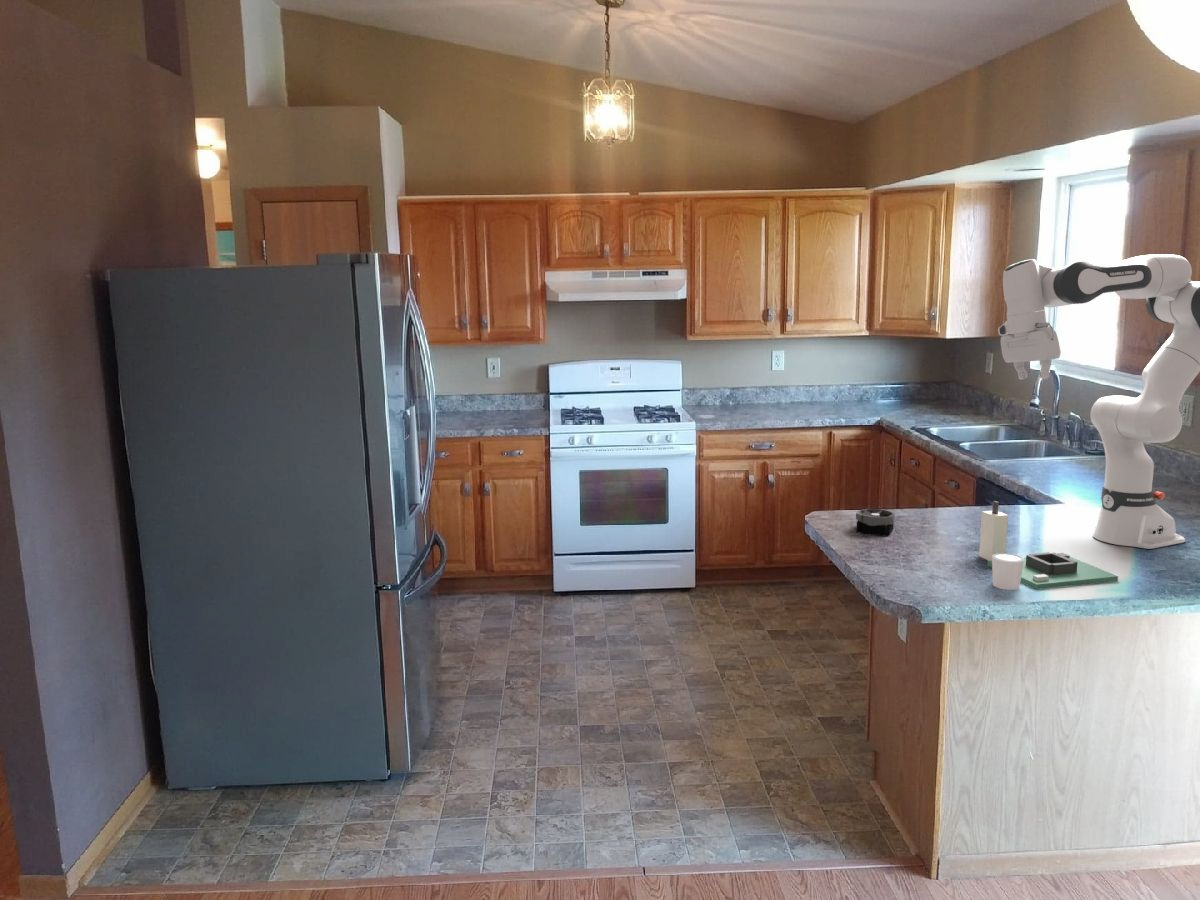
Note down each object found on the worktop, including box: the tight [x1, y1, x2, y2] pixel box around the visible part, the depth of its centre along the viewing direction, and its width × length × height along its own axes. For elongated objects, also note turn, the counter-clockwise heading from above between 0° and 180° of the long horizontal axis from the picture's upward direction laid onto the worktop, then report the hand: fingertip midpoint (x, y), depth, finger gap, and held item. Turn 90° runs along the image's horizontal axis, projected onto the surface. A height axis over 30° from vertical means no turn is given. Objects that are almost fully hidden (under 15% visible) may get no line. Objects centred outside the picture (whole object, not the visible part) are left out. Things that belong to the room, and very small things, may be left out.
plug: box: [978, 500, 1009, 561], centre depth 225 cm, size 4×5×15 cm
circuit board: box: [986, 551, 1119, 590], centre depth 214 cm, size 22×18×4 cm
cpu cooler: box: [855, 508, 896, 537], centre depth 253 cm, size 10×6×10 cm
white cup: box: [991, 552, 1025, 591], centre depth 206 cm, size 7×7×7 cm
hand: (1033, 378), depth 225 cm, fingers open, 8 cm apart
